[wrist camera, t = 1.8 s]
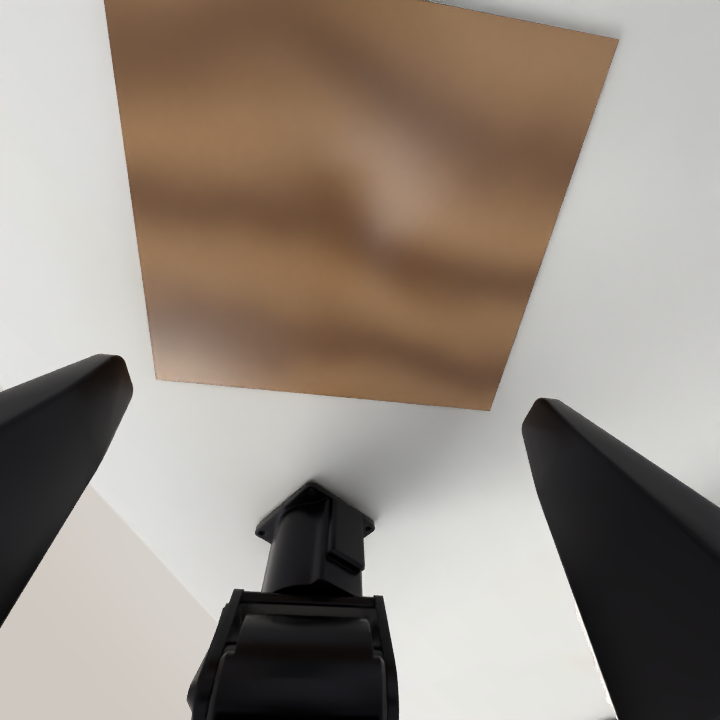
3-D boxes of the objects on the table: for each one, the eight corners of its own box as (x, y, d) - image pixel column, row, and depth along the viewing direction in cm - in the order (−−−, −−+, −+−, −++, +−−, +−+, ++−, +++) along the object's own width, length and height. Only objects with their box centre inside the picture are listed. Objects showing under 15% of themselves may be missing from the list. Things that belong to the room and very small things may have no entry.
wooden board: (487, 407, 22) (489, 411, 22) (159, 376, 20) (155, 379, 20) (613, 42, 14) (619, 39, 14) (101, -59, 12) (94, -66, 12)
